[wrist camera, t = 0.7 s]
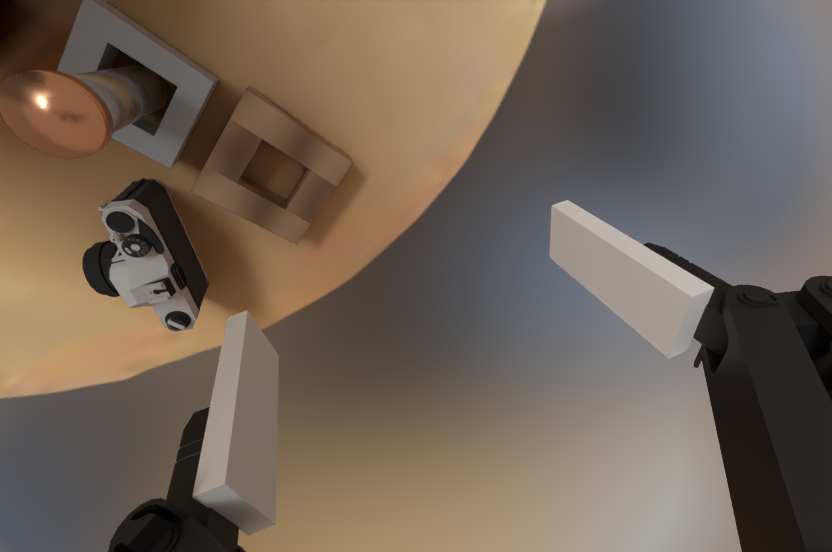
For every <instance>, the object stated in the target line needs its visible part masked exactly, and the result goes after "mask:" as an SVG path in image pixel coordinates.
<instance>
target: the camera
mask: <svg viewBox="0 0 832 552" xmlns="http://www.w3.org/2000/svg"><path fill="white" fill-rule="evenodd" d="M107 202H108V200H106V201H105V203H104V205H99V207H98V209H99V210H100V211H103V215H102V222H103V223H104V225H105V227H106V228H107V230H108V232H109V233H110V237H109V239H110V240H111V241H105V242H99V243H96V244H94V245H93V246H92V247H91V248H89V249H87V251H86V252H85V254H84V256H83V270H84V274H85V277H86V279H87V281H88V283H89V284H90V286H91V287H92V288H93V289H94V290H95V291H96V292H98V293H100V294H103V295H108V296H111V297H117V296H121V297H122V299H123V300H124V302H125V304H126V305H127V307H128V308H134V307H143V306H153V308H154V310H155V311H156V313H157V315H158V316H159V318H160V320H161V321H162V323H163V325H164V326H165V327H167V328H168V329H170V330H172V331H173V332H178V331H183V330H188V329H193V326H194V324H195V321H196V319H197V316H198V313H199V311H200V306H201V303H202V300H203V298H204V295H205V292H206V290H207V287H208V284H209V280H208V278H207V276H206V274H205V271H204V269H203V267H202V265H201V263H200V260H199V258H198V256H197V254H196V252H195V249H194V247H193V245H192V243H191V241H190V238H189V236H188V234H187V232H186V229H185V227H184V225H183V223H182V221H181V218H180V216H179V214H178V212H177V210H176V207H175V205H174V203H173V201H172V199H171V196H170V194H169V192H168V190H167V188H166V186H165V185H163V184H162V183H160V182H159V181H157V180H156V179H155V178H154V179H146V180H145V178H144V179H141V180H137V181H133V182H132V183H131V185H130V186H129V187H127V188H126V189H125V190H124V191H123V192H122V193H121V194H120V195H119V196H117V197H116V198H115V199H114V200H112V201H111V202H110V204H108V205H107V204H106V203H107ZM105 204H106V205H105Z"/></svg>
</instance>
